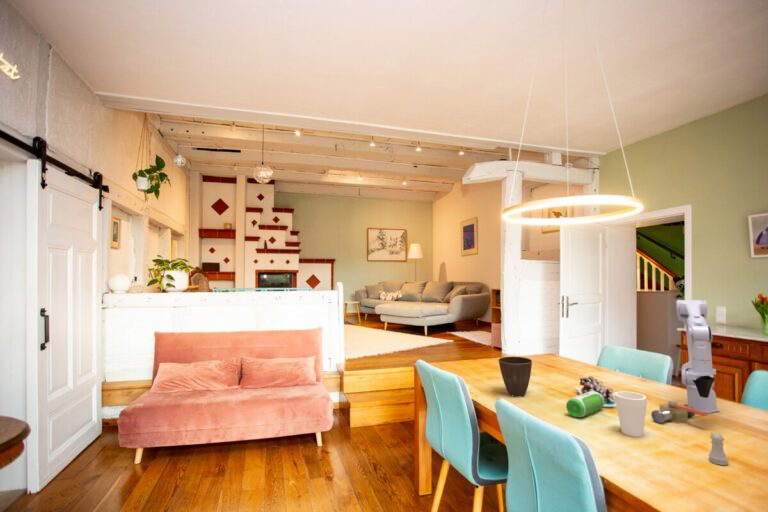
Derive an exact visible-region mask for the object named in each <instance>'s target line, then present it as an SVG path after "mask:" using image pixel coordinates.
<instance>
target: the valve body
mask: <svg viewBox="0 0 768 512" xmlns="http://www.w3.org/2000/svg"><path fill="white" fill-rule="evenodd" d="M683 406H686V407H689V408H693V407H692V406H691V405H688V403H687V404H683ZM693 409H694V408H693ZM650 414H651V418H652V420H653V421H654V422H655V423H657V424H663V423H664V422H665V421H668V422H670V421H671V423H673V422H674V423H673V424H676V423H677V424H681V422H682V423H686V422H688V421H689V420H688V419H689V418H692V417H694V416H695V415H696V414H694V413H693V412H689V411H686V410H683V409H680V408H676V407H671V406H669V405H668V403H663V404H660V405H659V410H657V409H655V410H652V412H651V413H650ZM688 417H689V418H688Z"/></svg>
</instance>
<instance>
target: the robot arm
mask: <svg viewBox="0 0 768 512" xmlns="http://www.w3.org/2000/svg"><path fill="white" fill-rule="evenodd" d="M675 302H676V303H675V306H676V315H677V319H678V321H679V322H681V323H683V324H684V326H685V335H686V343H687V345H686V346H687V352H688V353H687V354H688V362H685V363H684V364H683V365H682V366H681V373H680V374H681V382H682V384H683V386H686V398H687V399H686V400H687V404H688V405H691V406H692V407H693V408H694V409H696V410H701V411H704V412H707V414H711V413H716V412H720V409H719V408H717V395H716V392H715V390H714V389H713V388H714V386H715V380H716V378H715V377H714V375H717V369H716V368H713V358H712V356H713V355H712V345H711V343H712V342H713V330H712V328H711V325H708V323H707V317H708V316H707V315H708V304H707V301H706V300H705V299H702V300H701V299H700V300H699V299H698V300H697V299H696V300H695V299H694V300H693V299H687V300H686V299H677V300H676V301H675Z"/></svg>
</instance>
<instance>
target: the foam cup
mask: <svg viewBox="0 0 768 512" xmlns="http://www.w3.org/2000/svg"><path fill="white" fill-rule="evenodd" d="M647 400H648V399H647V397H646V395H644V394H642V393H638V392H636V391H635V392H633V391H624V390H623V391H622V390H621V391H620V390H619V391H616V392H614V401H615V404H616V405H615V406H616V410H617V415H618V419H619V426H620V430H621V433H622V434H624V435H625V434H626V436H629V437H632V438H633V437H634V438H635V437H636V438H640V437H643V436H644V433H645V431H644V430H645V420H646V411H647V405H648V401H647Z"/></svg>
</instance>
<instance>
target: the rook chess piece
mask: <svg viewBox="0 0 768 512" xmlns="http://www.w3.org/2000/svg"><path fill="white" fill-rule="evenodd" d="M709 437H710V439H711V441H710V443H711V451H710V453H709V454H708V460H709V461H710V462H711V463H712V462H713V463H712V464H714V463H716V464H715V465H718V464H720V465H719V466H727V465H728V464H729V461H728V460H729V459H728V457H727V456H726V453H725V451H724V443H723V441H724V440H725V438H724V437H723V435H722V433H718V434H717V432H711V433H710V436H709Z"/></svg>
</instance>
